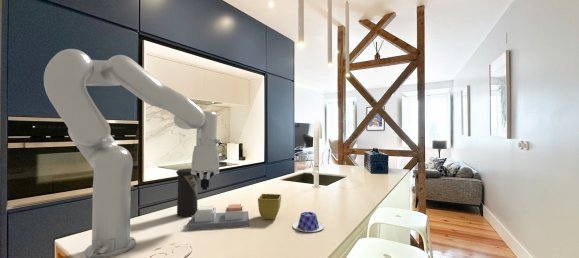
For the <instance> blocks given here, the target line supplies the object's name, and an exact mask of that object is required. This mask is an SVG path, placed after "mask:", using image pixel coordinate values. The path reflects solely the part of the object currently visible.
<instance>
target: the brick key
mask: <svg viewBox="0 0 579 258" xmlns="http://www.w3.org/2000/svg"><path fill="white" fill-rule="evenodd" d="M241 206H242V204H241V203H236V204H228V206H227V207H228V212H231V211H241Z"/></svg>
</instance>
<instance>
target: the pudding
mask: <svg viewBox="0 0 579 258" xmlns="http://www.w3.org/2000/svg"><path fill="white" fill-rule="evenodd" d="M292 228H293V229H295V230H296V231H300V232H305V233H312V232H314V233H315V232H319V231H321V230H323V229H325V224H323V223H322V222H321V221H319V220H318V217H317V214H316V213H315V212H312V211H303V212H301V214H300V215H299V220H297V221H295V222H294V223H292Z"/></svg>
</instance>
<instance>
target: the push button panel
mask: <svg viewBox="0 0 579 258" xmlns="http://www.w3.org/2000/svg"><path fill="white" fill-rule="evenodd" d="M198 210H199V208H198ZM198 210H197V212H196V213H195V214H194V215H193V216H191V219H190V220H189V222H188V224H187V231H197V230H210V229H226V228H238V227H239V228H240V227H250V218H249V211H248V210H247V211H246V210H245V209H244V205H241V211H231V212H228V206H226V207H225V212H217V207H213V213H198ZM244 210H245V211H244Z"/></svg>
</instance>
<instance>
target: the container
mask: <svg viewBox="0 0 579 258" xmlns="http://www.w3.org/2000/svg"><path fill="white" fill-rule="evenodd" d="M191 170H192V168H190V167H189V168H182V169H180V168H179V169H178V170H177V171H175V172H176V175H177V198H176V199H177V201H176V203H177V205H176V216H177V217H180V218H188V217H193V215H194V214H195V213H196V212H197V210H198V209H199V208H198V176H197V175H193V174H191Z"/></svg>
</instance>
